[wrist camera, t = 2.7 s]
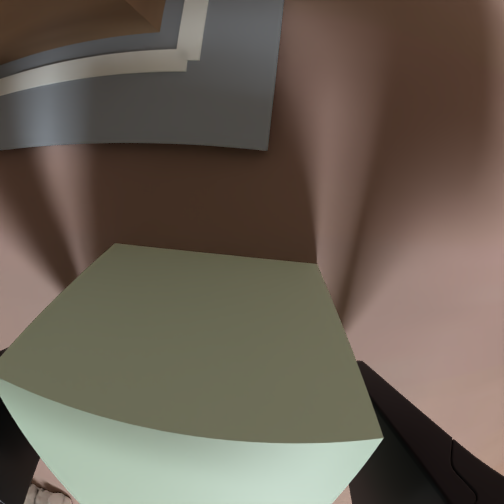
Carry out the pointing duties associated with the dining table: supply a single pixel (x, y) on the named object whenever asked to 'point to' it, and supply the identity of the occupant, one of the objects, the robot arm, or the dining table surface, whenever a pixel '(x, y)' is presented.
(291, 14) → the dining table surface
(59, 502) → the white creature statuette
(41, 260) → the dining table surface
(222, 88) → the blueprint mat
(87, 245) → the dining table surface
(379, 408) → the robot arm
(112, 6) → the walnut base
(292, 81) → the dining table surface
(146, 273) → the sage block
